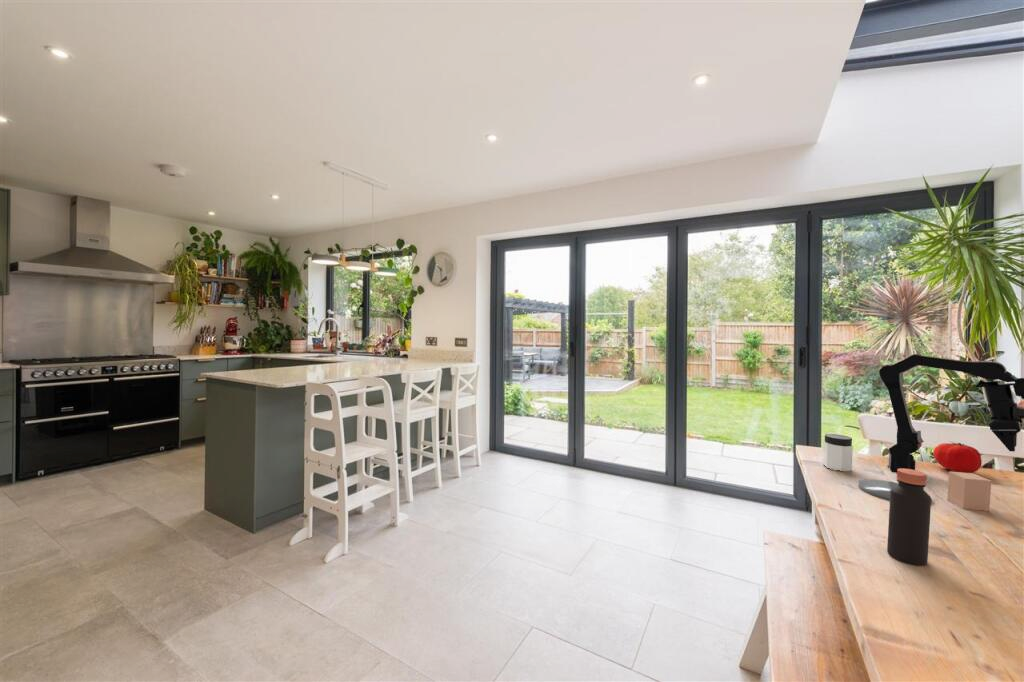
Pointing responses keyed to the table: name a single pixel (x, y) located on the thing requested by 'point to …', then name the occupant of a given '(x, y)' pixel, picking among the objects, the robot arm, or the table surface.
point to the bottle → (909, 518)
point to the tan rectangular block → (969, 491)
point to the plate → (877, 487)
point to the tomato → (958, 457)
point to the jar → (837, 452)
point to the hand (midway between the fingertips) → (1013, 448)
